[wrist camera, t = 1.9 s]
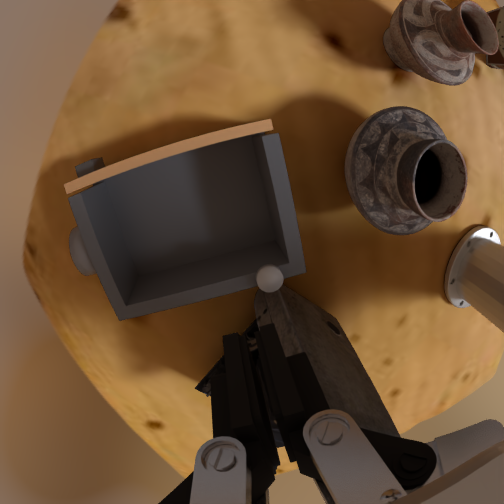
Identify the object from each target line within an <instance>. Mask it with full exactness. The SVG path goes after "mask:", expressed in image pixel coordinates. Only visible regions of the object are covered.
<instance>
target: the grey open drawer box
mask: <svg viewBox="0 0 504 504" xmlns="http://www.w3.org/2000/svg"><path fill="white" fill-rule="evenodd" d="M68 200H69V203H70V206H71V209H72V211H73V214H74V217H75V220H76V223H77V225H78V227H75V228H73V229H72V231H71V233H70V237H69V248H70V253H71V257H72V260H73V262H74V264H75V266H76V267H77V269H78V270H79V271H80V272H81V273H82V274H83V275H85V276H89V275H92V274H96V273H97V275H98V277H99V279H100V282H101V284H102V286H103V288H104V290H105V293H106V295H107V297H108V299H109V301H110V303H111V305H112V307H113V309H114V311H115V313H116V315H117V317H118V319H119V321H121V320H125V319H130V318H134V317H138V316H143V315H147V314H151V313H155V312H159V311H163V310H167V309H171V308H176V307H180V306H184V305H188V304H191V303H195V302H199V301H203V300H207V299H211V298H215V297H219V296H223V295H226V294H230V293H234V292H238V291H241V290H245V289H249V288H252V287H256V286H259V288H260V289H261V290H262V291H264V292H274V291H276V290H278V289H279V288H280V287H281V286H282V284H283V279H285V278H288V277H292V276H295V275H299V274H302V273H306V266H305V261H304V255H303V249H302V244H301V238H300V233H299V228H298V223H297V217H296V212H295V207H294V202H293V197H292V192H291V187H290V183H289V178H288V173H287V168H286V164H285V159H284V155H283V150H282V146H281V141H280V137H279V133H272V134H265V133H264V132H260V133H256V134H251V135H247V136H243V137H238V138H234V139H230V140H226V141H222V142H219V143H215V144H211V145H207V146H204V147H200V148H196V149H193V150H189V151H186V152H183V153H179V154H176V155H173V156H169V157H166V158H163V159H160V160H157V161H154V162H151V163H148V164H145V165H142V166H139V167H136V168H133V169H130V170H128V171H125V172H122V173H119V174H117V175H114V176H111V177H109V178H106V179H103V180H101V181H98V182H96V183H93V186H92V187H90V188H88V189H86V190H84V191H82V192H80V193H78V194H76V195H73V196H71V197H69V198H68Z"/></svg>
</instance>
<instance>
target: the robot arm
mask: <svg viewBox="0 0 504 504" xmlns="http://www.w3.org/2000/svg"><path fill="white" fill-rule="evenodd" d="M444 284H445V294H446V297H447V299H448V300H449V301H450V303H452V304H453V305H454V306H456V307H458V308H465V307H468V306H472V307H474V308H475V309H476V310H477V311H478V312H480V313H481V314H482V315H483V316H485V317H486V318H487V319H488V320H489V321H491V322H492V323H493V324H494V325H495V326H496V327H498V328H499V329H500V330H501V331H502V332H503V333H504V246H502V245H501V244H500V239H499V237H498V235H497V233H496V232H495V231H494V230H493V229H491V228H489V227H487V226H478V227H475V228H473V229H472V230H470V231H469V232H468V233H467V234H466V235H465V236H464V237H463V238H462V239H461V241H460V242H459V243H458V245H457V246H456V248H455V250H454V252H453V254H452V256H451V258H450V261H449V263H448V266H447V270H446V274H445V282H444ZM259 329H260V331H257V332H254V334H255V339H256V343H257V347H258V351H259V355H260V360H261V364H262V368H263V372H264V376H265V380H266V384H267V388H268V392H269V396H270V400H271V404H272V409H273V412H274V416H275V419H276V423H277V426H278V428H279V431H280V434H281V437H282V440H283V443H284V446H285V449H286V451H287V454H288V457H289V460H290V463H291V462H294V461H297V464H298V467H299V470H300V473H301V474H304V475H306V476H309V477H311V478H313V479H314V481H315V484H316V486H317V487H318V489H319V491H320V493H321V495H322V497H323V499H324V501H325V503H326V504H504V427H503V425H502V424H501V423H500V422H498V421H496V420H491V419H489V420H484V421H482V422H479V423H477V424H474V425H472V426H469V427H466V428H464V429H461V430H458V431H455V432H453V433H450V434H446V435H443V436H440V437H437V438H435V440H434V441H432V442H428V443H422V442H419V441H414V440H409V439H404V438H400V437H395V436H391V435H387V434H383V433H379V432H375V431H371V430H367V429H364V428H360V427H358V425H357V424H356V422H355V421H354V419H353V418H352V417H351V416H350V415H349V414H348V413H345V412H343V411H341V410H335V409H330V407H329V405H328V402H327V400H326V398H325V396H324V393H323V391H322V389H321V386H320V384H319V382H318V379H317V377H316V375H315V372H314V370H313V368H312V366H311V363H310V361H309V359H308V356H307V354H306V352H302V353H298V354H295V355H292V356H288V357H286V356H285V353H284V350H283V348H282V345H281V342H280V339H279V336H278V333H277V330H276V327H275V324H274V323H270V324H267V325H263V326H259ZM223 347H224V358H225V368H226V373H222V374H218V375H214V376H211V378H210V384H211V406H212V424H213V439H211V440H209V441H207V442H206V443H204V444H203V445H202V446H201V447H200V449H199V450H198V452H197V455H196V459H195V467H194V471H193V472H192V473H191V474H190V475H189V476H188V477H187V478H186V479H185V480H184V481H183V482H182V483H181V484H180V485H178V486H177V487H176V488H175V489H174V490H173V491H172V492H171V493H170V494H169V495H168V496H166V497H165V498H164V499H163V500H162V501H161V502H160V503H159V504H269V489H268V488H269V486H270V485H271V484H272V483H273V482H274V480H275V476H274V474H276V470H275V466H279V465H280V460H279V456H278V452H277V448H276V443H275V439H274V435H273V431H272V426H271V422H270V418H269V414H268V409H267V405H266V401H265V396H264V392H263V388H262V385H261V382H260V379H259V376H258V373H257V370H256V367H255V364H254V361H253V358H252V355H251V352H250V349H249V346H248V342H247V339H246V336H245V335H241V336H239V334H238V332H237V333H233V334H229V335H225V336H223Z"/></svg>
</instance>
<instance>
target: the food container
mask: <svg viewBox="0 0 504 504" xmlns="http://www.w3.org/2000/svg"><path fill="white" fill-rule="evenodd" d="M486 13H487V14H488V16H489V17H490V19H491V20H492V22H493V24H494V26H495V29H496V31H497V35H498V41H499V45H498V50H497V52H496V53H495V54H493V55H488V54H486V65H488V66H489V67H491V68H496V69H504V6H503V7H500V8H497V9H494V10H491V11H489V12H486Z"/></svg>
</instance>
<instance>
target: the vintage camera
mask: <svg viewBox="0 0 504 504" xmlns="http://www.w3.org/2000/svg"><path fill="white" fill-rule="evenodd" d="M254 308H255V313H256V320H255V321H254V322H253V323H252V324H251V325H250V326H249V327H248V328H247V330H246V331H245V332H244V333H243V335H245V336H246V339H247V342H248V346H249V349H250V352H251V355H252V358H253V361H254V364H255V367H256V370H257V373H258V376H259V379H260V382H261V385H262V388H263V392H264V396H265V401H266V405H267V409H268V414H269V418H270V422H271V426H272V431H273V435H274V439H275V443H276V447H277V448H279V447H284V443H283V440H282V437H281V434H280V431H279V428H278V426H277V423H276V419H275V416H274V412H273V409H272V404H271V400H270V396H269V392H268V388H267V384H266V380H265V376H264V372H263V368H262V364H261V360H260V355H259V351H258V347H257V343H256V339H255V334H254V332H257V331H260V329H259V326H263V325H267V324H270V323H274V324H275V327H276V330H277V333H278V336H279V339H280V342H281V345H282V348H283V350H284V353H285V356H286V357H288V356H292V355H295V354H298V353H302V352H306V354H307V356H308V359H309V361H310V363H311V366H312V368H313V370H314V372H315V375H316V377H317V379H318V382H319V384H320V386H321V389H322V391H323V393H324V396H325V398H326V400H327V402H328V405H329V407H330V409H335V410H341V411H343V412H345V413H348V414H349V415H350V416H351V417H352V418H353V419H354V421H355V422H356V424H357V425H358V427H360V428H364V429H367V430H371V431H375V432H379V433H383V434H387V435H391V436H395V437H400V435H399V433H398V431H397V429H396V427H395V425H394V423H393V421H392V419H391V417H390V415H389V413H388V411H387V409H386V408H385V406H384V404H383V402H382V400H381V398H380V396H379V394H378V392H377V390H376V388H375V387H374V385H373V383H372V381H371V379H370V377H369V376H368V374H367V372H366V370H365V368H364V367H363V365H362V363H361V361H360V359H359V358H358V356H357V354H356V352H355V350H354V348H353V347H352V345H351V343H350V341H349V340H348V338H347V336H346V334H345V333H344V331H343V329H342V327H341V326H340V324H339V322H338V321H337V319H336V318H335V317H334V316H332V315H331V314H329V313H327V312H326V311H324V310H323V309H321V308H320V307H318V306H316V305H315V304H313V303H312V302H310V301H308V300H307V299H305V298H304V297H302V296H301V295H299V294H297V293H296V292H294V291H292V290H291V289H289V288H288V287H286V286H285V285H283V284H282V286H281V287H280V288H279V289H278V290H276V291H274V292H264V291H262V290H261V289H259V290H258V292H257V293H256V297H255V300H254ZM222 373H226V368H225V358H224V355H223V356H222V358H221V359H220V360H219V361H218V362H217V363H216V365H215V366H214V367H213V368H212V369H211V370H210V371H209V372H208V374H207V375H206V376H205V377H204V378H203V379H202V380H201V381H200V383H199V384H198V385H197V386H196V387H195V389H197V390H198V391H200V392H202V393H205V394H207V395H206V396H207V397H208V396H211V384H210V378H211V376H214V375H218V374H222ZM400 438H401V437H400ZM275 470H277V466H275Z"/></svg>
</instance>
